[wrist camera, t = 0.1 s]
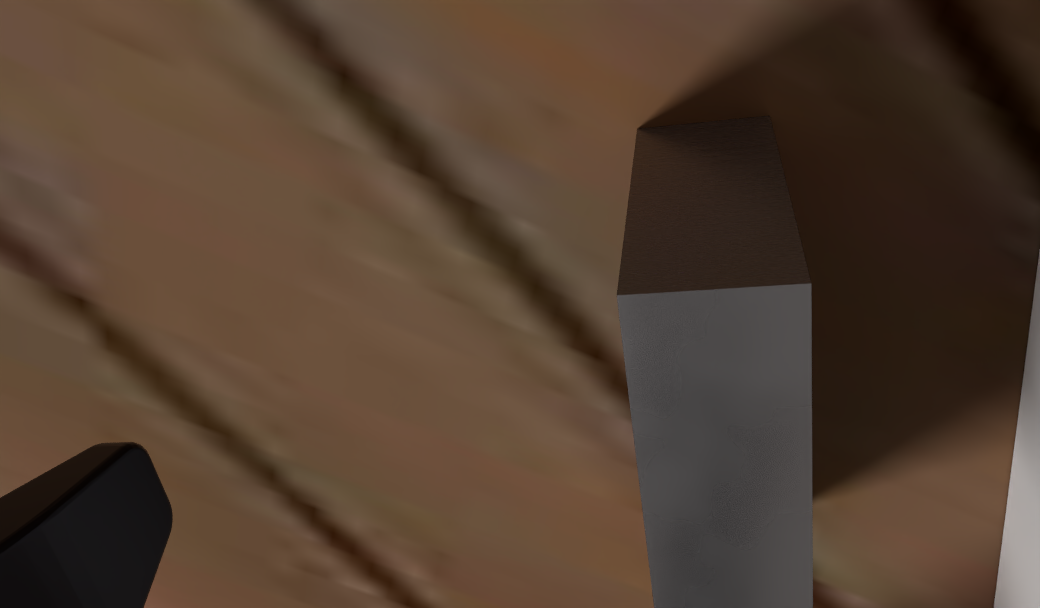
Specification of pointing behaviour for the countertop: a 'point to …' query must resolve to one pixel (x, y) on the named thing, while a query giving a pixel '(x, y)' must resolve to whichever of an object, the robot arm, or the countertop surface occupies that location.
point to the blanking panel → (719, 367)
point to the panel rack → (1024, 487)
